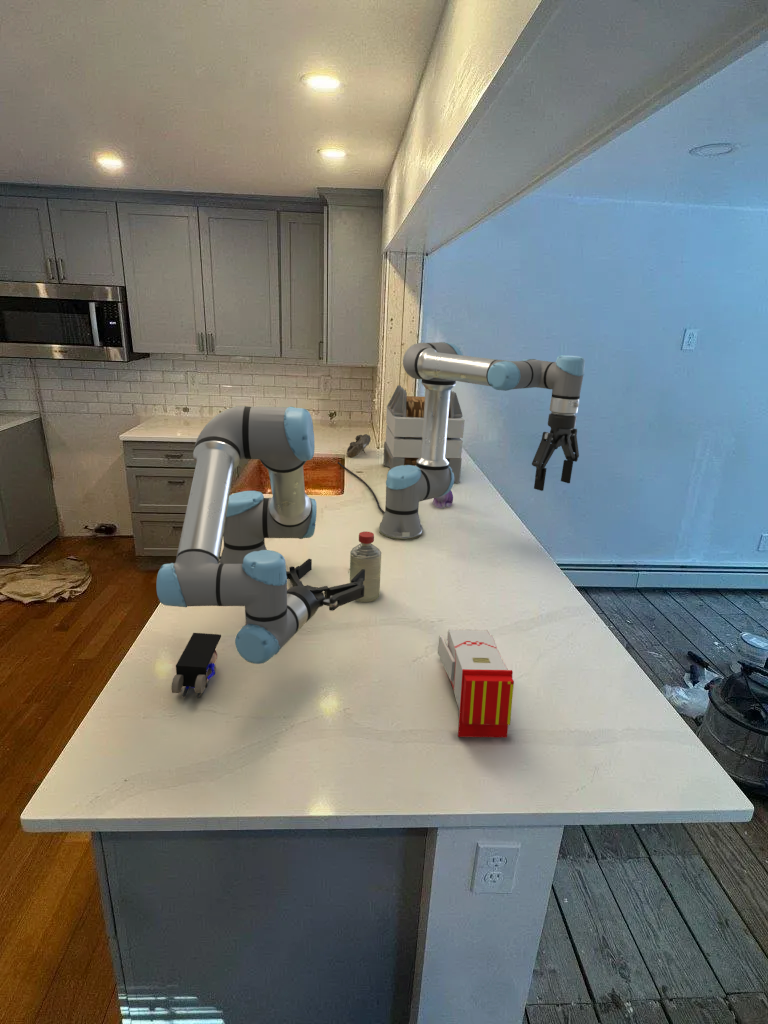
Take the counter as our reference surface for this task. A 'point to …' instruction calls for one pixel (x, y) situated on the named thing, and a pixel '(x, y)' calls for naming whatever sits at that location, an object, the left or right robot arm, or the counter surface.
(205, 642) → the black toy vehicle
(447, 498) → the figurine
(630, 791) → the counter surface
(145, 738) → the counter surface
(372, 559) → the bottle
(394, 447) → the white slatted box
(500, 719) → the toy
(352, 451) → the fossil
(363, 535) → the cap
